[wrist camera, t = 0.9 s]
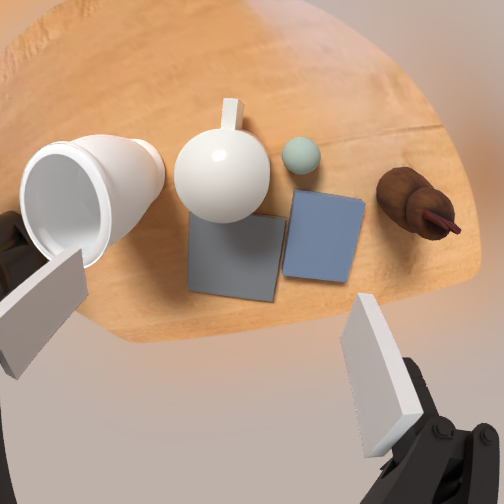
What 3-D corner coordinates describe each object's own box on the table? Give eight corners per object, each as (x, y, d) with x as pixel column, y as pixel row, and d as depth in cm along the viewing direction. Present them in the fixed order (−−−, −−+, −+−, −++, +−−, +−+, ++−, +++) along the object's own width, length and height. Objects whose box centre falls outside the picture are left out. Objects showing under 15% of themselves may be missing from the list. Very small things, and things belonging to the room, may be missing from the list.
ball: (279, 168, 32) (279, 174, 28) (283, 133, 30) (285, 134, 26) (314, 174, 31) (320, 180, 28) (319, 139, 30) (326, 141, 26)
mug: (196, 194, 33) (172, 218, 25) (204, 102, 29) (179, 94, 21) (265, 201, 33) (263, 228, 25) (277, 108, 29) (279, 101, 21)
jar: (178, 213, 34) (123, 272, 21) (106, 216, 35) (34, 268, 21) (171, 124, 30) (101, 129, 16) (96, 136, 31) (10, 155, 17)
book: (281, 266, 37) (282, 275, 35) (293, 187, 33) (295, 192, 31) (342, 273, 37) (346, 282, 35) (360, 198, 33) (366, 203, 31)
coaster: (189, 286, 38) (187, 290, 38) (191, 206, 34) (189, 208, 33) (272, 297, 38) (272, 301, 37) (285, 217, 34) (285, 220, 33)
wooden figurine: (359, 189, 32) (416, 237, 18) (390, 153, 30) (464, 179, 16) (395, 225, 33) (457, 287, 20) (424, 191, 31) (499, 236, 17)
